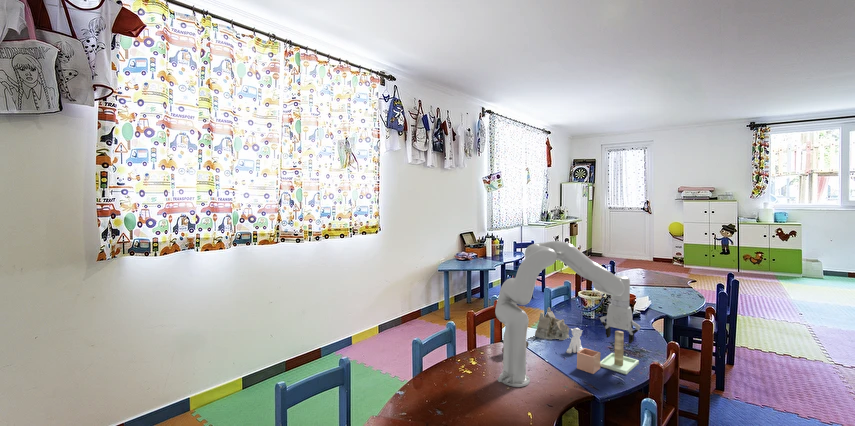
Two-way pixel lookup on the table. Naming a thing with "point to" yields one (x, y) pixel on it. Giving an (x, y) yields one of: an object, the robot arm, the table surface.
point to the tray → (625, 369)
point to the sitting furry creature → (575, 341)
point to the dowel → (619, 348)
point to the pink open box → (588, 360)
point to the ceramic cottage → (551, 327)
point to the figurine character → (526, 344)
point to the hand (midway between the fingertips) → (619, 339)
